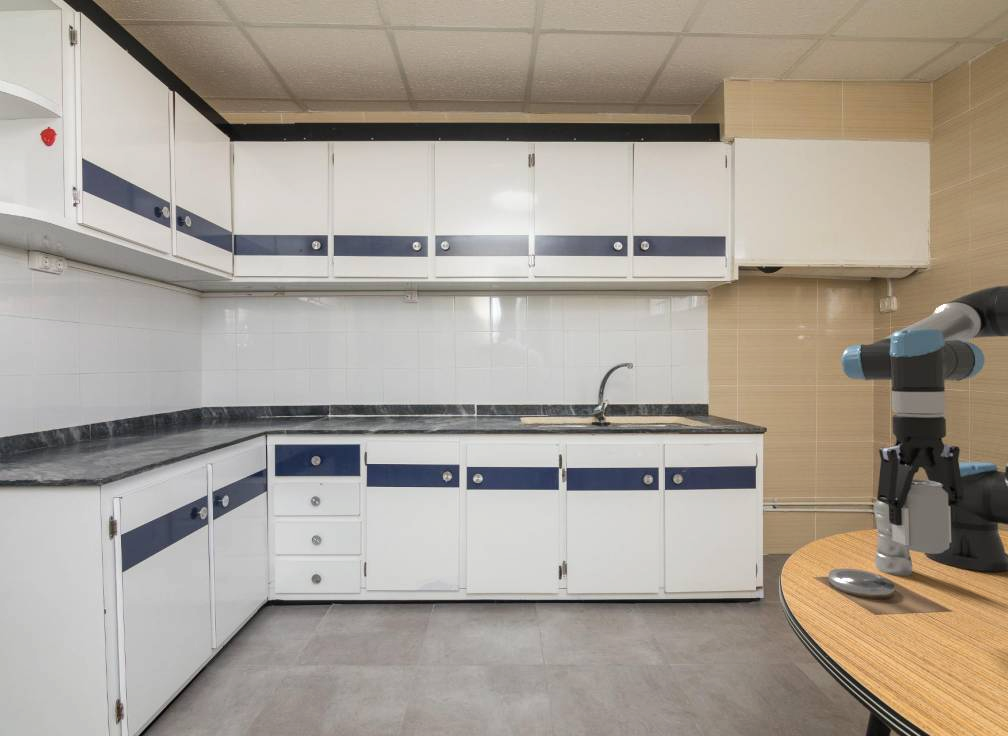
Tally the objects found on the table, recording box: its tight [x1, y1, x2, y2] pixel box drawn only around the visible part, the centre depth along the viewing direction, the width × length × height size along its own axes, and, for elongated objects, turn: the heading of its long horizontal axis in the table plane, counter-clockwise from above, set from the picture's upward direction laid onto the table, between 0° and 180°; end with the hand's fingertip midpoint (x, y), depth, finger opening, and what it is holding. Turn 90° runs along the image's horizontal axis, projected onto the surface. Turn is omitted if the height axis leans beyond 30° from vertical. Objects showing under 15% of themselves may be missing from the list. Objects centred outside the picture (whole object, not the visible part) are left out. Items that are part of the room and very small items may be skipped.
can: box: [896, 478, 949, 554], centre depth 92 cm, size 8×8×12 cm
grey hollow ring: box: [828, 568, 894, 600], centre depth 104 cm, size 11×11×2 cm
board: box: [812, 574, 953, 616], centre depth 102 cm, size 15×17×1 cm
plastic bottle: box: [873, 499, 914, 577], centre depth 113 cm, size 6×7×20 cm
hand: (921, 541), depth 92 cm, fingers closed on can, 7 cm apart
